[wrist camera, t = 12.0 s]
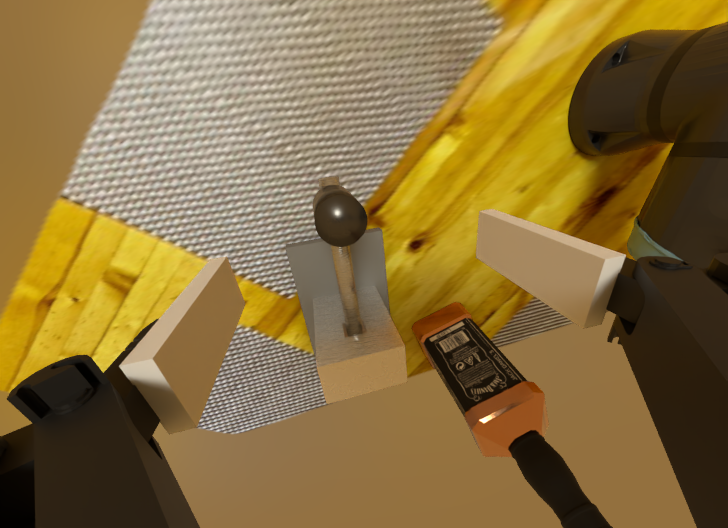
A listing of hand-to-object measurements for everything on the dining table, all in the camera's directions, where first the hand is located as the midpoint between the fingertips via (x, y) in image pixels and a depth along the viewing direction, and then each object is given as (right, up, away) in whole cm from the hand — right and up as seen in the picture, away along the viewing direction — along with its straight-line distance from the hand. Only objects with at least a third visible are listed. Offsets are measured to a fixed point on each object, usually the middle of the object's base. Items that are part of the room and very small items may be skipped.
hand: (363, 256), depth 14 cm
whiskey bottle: (+15, -13, +37) cm, 43 cm away
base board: (-3, -7, +30) cm, 31 cm away
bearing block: (-3, -8, +29) cm, 30 cm away
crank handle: (-2, -1, +17) cm, 17 cm away
